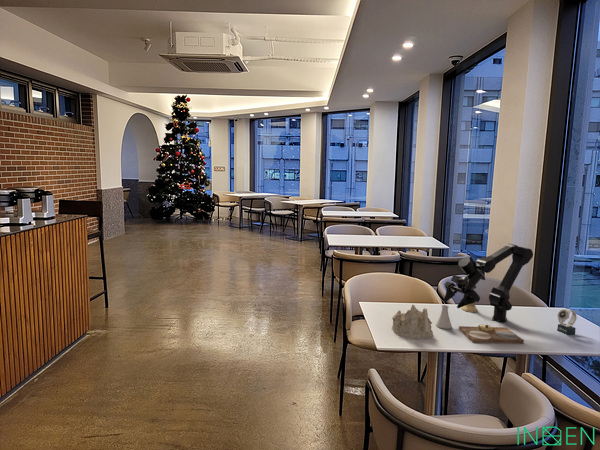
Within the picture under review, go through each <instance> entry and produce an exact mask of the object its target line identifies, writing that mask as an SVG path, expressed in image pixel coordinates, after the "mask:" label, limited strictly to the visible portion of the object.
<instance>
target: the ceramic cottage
mask: <svg viewBox="0 0 600 450" xmlns="http://www.w3.org/2000/svg"><path fill="white" fill-rule="evenodd" d="M391 319H392V326H391V330H392V331H393V333H394V334H395V335H398V336H400V337H401V338H404V339H408V340H423V339H424V340H425V339H431V338H433V337H434V331H433V330H432V324H433V322H432V321H431V320H430V318H429V314H428V308H425V307H424V308H422V311H421V310H419V309H418V308H417V307H416V305H415V304H412V305H411V307H410V309H407V311H406V312H405V313H404V312H402V311H401V310H400V309H399V310H398V311H396V313H395V314H394V315H393V316H392V318H391Z"/></svg>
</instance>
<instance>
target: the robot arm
mask: <svg viewBox="0 0 600 450" xmlns="http://www.w3.org/2000/svg"><path fill="white" fill-rule="evenodd" d="M510 256H511V257H512V258H511V261H512V262H511V264H510V265H509V267H508V269H507V271H506V273H505V275H504V277H503V279H502V280H501V282H500V284H499V286H497V287H492V288H491V290H490V292H489V293H488V295H489V296H488V299H489V303H490V306H492V307H494V308H493V315H492V317H491V320H492V321H497V322H502V323H507V321H508V317H507V311H510V310H512V307H513V305H512V304H511V302H510V301H509V299H510V290H511V289H512V287H513V285H514V284H515V282H516V280H517V277H518V275H519V274H520V272H521V270H522V268H523V267H524V266H525V265H527V264H529V263H530V261H531V260H532V259H533V256H534V252H533V250H532V249H531V248H527V247H523V246H519V245H517V244H514V243H507V244H506V245H504V246H503V247H502V248H500V249H498V250H496V251H495V252H493V253H492V254H490V255H488V256H482V257H480V258H478V259H476V260H474V259H473V257H472V256H469V255H467V256H466V257H464V258H462V259H459V261H458V264H457V265H458V266H459V268H460V269H461V270H462V271H463V273H464V274H466V276H462V277H461V276H459V275H456V274H453V276H452V277H451V280H450V281H446V282H445V283H444V284H443V285H444V286H445V287H444V288H445V289H446V292H445V295H444V297H443V303H447V302H448V301H450V300H451V299H452V298H454V297H455V296H456V294H457V293H461V295H463V297H462V299H461V300H460V302H459V303H458V304H457V305H456V309H460V308H462V307H463V306H466V305H468V304H471V303H475V304H476V303H478V302H480V300H481V296H480V295H479V294H478V293H477V291H476V290H475V289H477V286H476V285H477V284H478V283H479V282H480V281H481V280H482V281H486V275H485V273H486V274H489V273H491V272H492V271H493V270H494V269H495V268H496V266H497V264H499V263H500V262H502V261H503V260H505V259H506V258H508V257H510ZM473 288H474V290H472V289H473Z"/></svg>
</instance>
